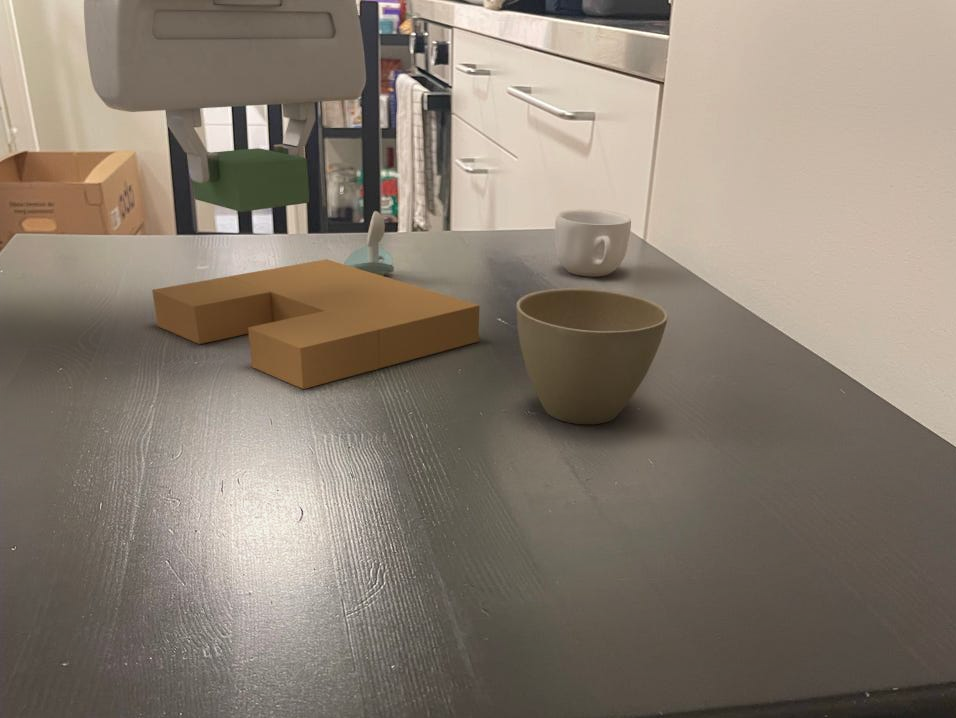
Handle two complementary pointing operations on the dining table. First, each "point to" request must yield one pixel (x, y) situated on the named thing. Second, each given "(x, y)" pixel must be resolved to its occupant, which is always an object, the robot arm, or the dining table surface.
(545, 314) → the bowl
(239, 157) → the green block
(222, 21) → the robot arm
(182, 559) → the dining table surface
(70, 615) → the dining table surface
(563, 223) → the teacup
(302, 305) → the brown notched block
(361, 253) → the pacifier
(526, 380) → the dining table surface
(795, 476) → the dining table surface
